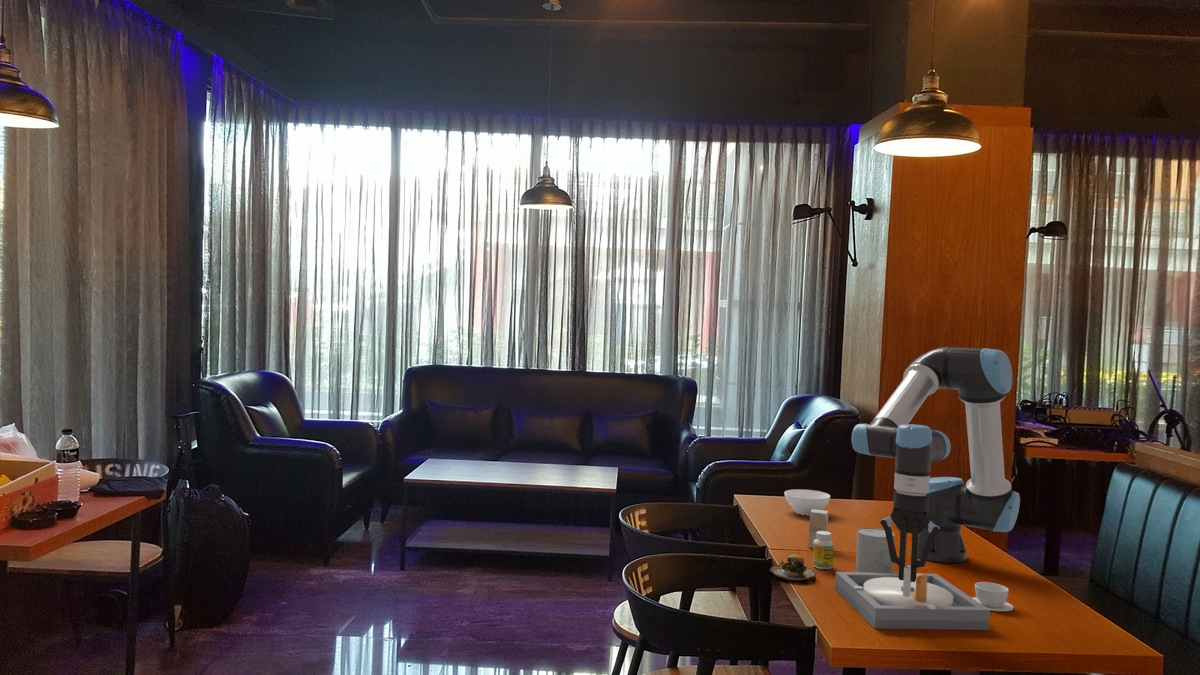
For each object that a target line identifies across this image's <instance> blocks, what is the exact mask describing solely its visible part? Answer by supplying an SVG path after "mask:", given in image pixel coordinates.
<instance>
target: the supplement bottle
mask: <svg viewBox="0 0 1200 675" xmlns="http://www.w3.org/2000/svg"><path fill="white" fill-rule="evenodd" d="M816 537H817V539H815V540H814V545H813V548H812V549H813V552H812V553H813V554H812V565H813V567H814V568H815V567H816V569H819V570H823V569H827V570H831V569H833V566H834V564H833V563H834V542H833V541H832V540H831V539H832V533H831V532H829V531H827V532H826V531H818V532H816Z"/></svg>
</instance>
